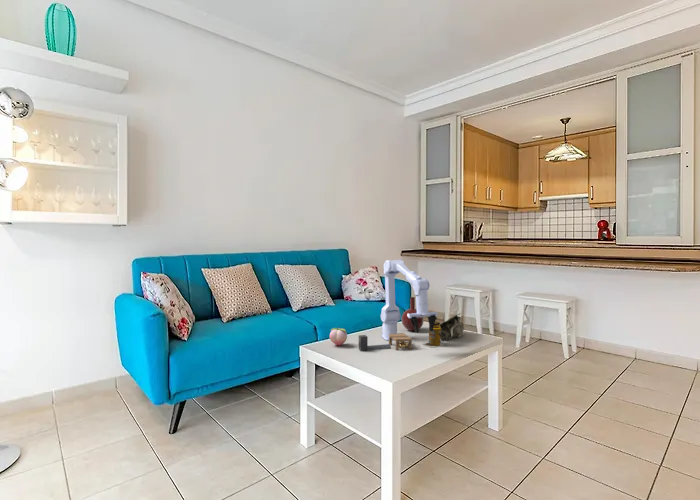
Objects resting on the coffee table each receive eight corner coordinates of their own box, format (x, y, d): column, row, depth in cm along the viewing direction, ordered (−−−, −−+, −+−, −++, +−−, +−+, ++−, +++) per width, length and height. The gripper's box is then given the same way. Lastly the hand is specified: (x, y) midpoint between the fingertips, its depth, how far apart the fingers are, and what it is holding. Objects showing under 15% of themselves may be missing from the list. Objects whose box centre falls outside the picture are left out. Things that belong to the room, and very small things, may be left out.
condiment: (444, 345, 200) (444, 322, 200) (432, 347, 196) (432, 324, 195) (433, 342, 207) (434, 319, 206) (422, 344, 202) (422, 321, 201)
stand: (388, 344, 202) (388, 334, 202) (403, 343, 204) (403, 333, 204) (396, 350, 192) (396, 339, 192) (411, 349, 194) (411, 338, 194)
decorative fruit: (349, 343, 203) (349, 325, 203) (345, 348, 195) (344, 328, 195) (332, 342, 206) (332, 324, 205) (327, 346, 198) (327, 327, 198)
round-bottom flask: (412, 327, 241) (412, 295, 240) (428, 331, 230) (428, 298, 229) (397, 330, 233) (397, 297, 233) (412, 334, 222) (412, 300, 222)
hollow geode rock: (440, 351, 205) (459, 334, 198) (424, 332, 210) (442, 315, 203) (459, 338, 227) (477, 323, 220) (444, 322, 232) (461, 306, 225)
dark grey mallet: (358, 349, 194) (358, 335, 194) (389, 346, 198) (389, 333, 198) (360, 351, 190) (360, 337, 190) (391, 348, 194) (391, 335, 194)
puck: (396, 346, 200) (396, 341, 200) (405, 345, 201) (405, 341, 201) (400, 348, 195) (400, 344, 195) (409, 348, 196) (409, 343, 196)
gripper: (411, 305, 182) (413, 334, 181) (439, 303, 186) (441, 331, 185) (405, 304, 189) (407, 332, 188) (432, 302, 192) (434, 329, 192)
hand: (424, 332), depth 187 cm, fingers open, 7 cm apart
